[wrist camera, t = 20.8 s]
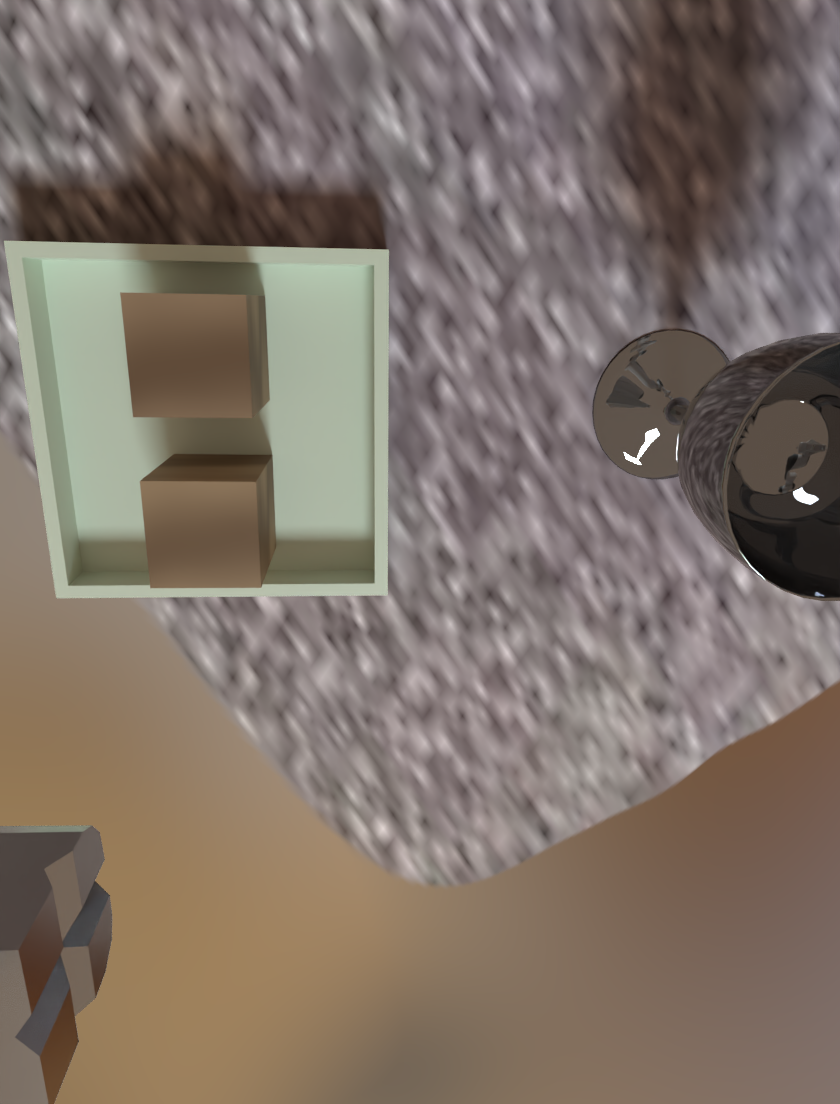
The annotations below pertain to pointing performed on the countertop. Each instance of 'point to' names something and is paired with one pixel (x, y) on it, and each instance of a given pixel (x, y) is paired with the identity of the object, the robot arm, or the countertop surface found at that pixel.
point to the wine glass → (738, 445)
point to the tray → (146, 442)
